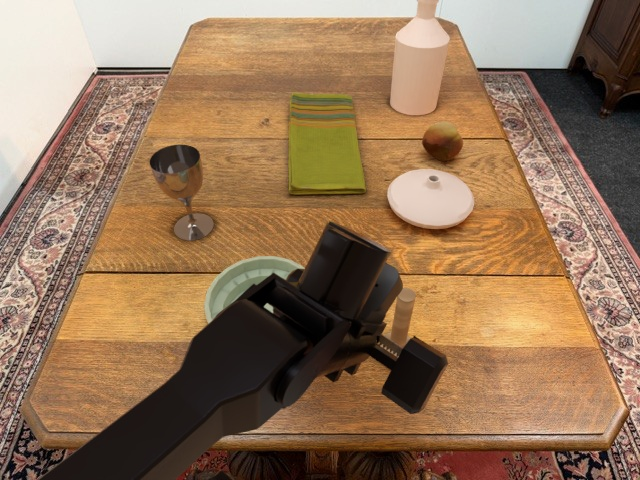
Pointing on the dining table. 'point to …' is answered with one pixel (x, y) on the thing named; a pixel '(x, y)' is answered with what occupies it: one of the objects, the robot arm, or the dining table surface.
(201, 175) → the wine glass
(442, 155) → the fruit
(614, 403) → the dining table surface
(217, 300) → the bowl
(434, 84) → the bottle
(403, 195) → the flat round vase
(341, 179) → the dish towel
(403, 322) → the beige piece
